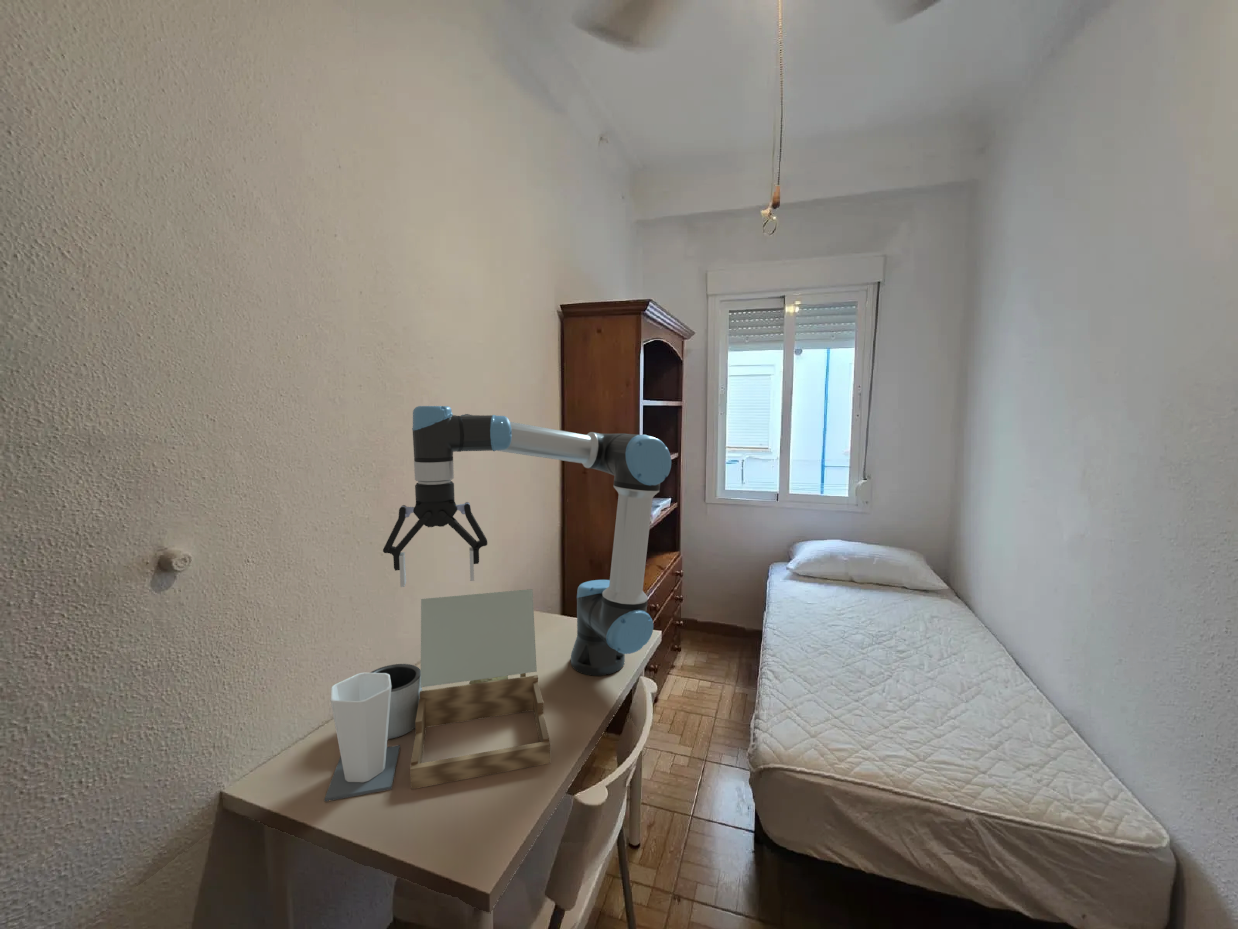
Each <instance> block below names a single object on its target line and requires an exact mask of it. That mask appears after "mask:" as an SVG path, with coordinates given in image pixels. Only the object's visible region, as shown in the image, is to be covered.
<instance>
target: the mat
mask: <svg viewBox="0 0 1238 929" xmlns="http://www.w3.org/2000/svg"><path fill="white" fill-rule="evenodd" d="M400 750H401V746H400V745H399V744H398V745H394V746H387V749H386V762H385V769H384V770H383V772H381V773H380V774H378V775H377V776H375V777H374V778H372V779H370V780H369V781H366V782H348V781H346V780H345V775H344V770H343V765H342V760H341V755H340V757H339V759H338V763H337V764H336V767H335V770H334V772H333V776H332V777H331V780H330V783H329V786H328V789H327V791H326V794H325V797H324V802H325V801H326V802H330V801H329V800H331V801H335V800H340V799H346V798H352V797H357V796H362V795H363V796H364V795H368V794H373V793H378V792H383V791H390V790H392V787H393V782H394V778H395V775H396V774H395V773H396V769H397V768H396V767H397V763H398V759H399V754H400Z"/></svg>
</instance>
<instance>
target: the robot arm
mask: <svg viewBox="0 0 1238 929" xmlns="http://www.w3.org/2000/svg"><path fill="white" fill-rule="evenodd" d="M411 430H412V444H413V468H414V470H413V471H414V480H415V482H416V484H415V485H414V489H415V490H414V492H415V494H414V495H415V505H414V506H407V505H406V504H403V505H401V506H400V507H399V508H398V518H397V520H396V523H395V525H394V527H393V528H392V530H391V533H390V535H389V536H388V538H387V540H386V543H385V544H384V546H383V549H382V552H383V553H384V554H390V555H392V558H393V569H394V571H399V581H400V582H399V583H400V586H399V587H400V588H405V586H406V584H407V575H406V552H405V551H403V550H404V548H406V547H407V545H408V544H409V543H410V542H411V540H412V539H413V538H414V537H415V536H416V535H417V534H418V533H419V531H420V530H421V529H422V528H423V526H425V527H427V528H433V527H441V528H442V527H445V526H447V525H448V526H450V527H451V528H452V529H453V530H454V531H455V532H456V533H457V534H458V535H459V536H460V537H461V538H462V539H463V540H464V541H465V542H466V543H467V544H468V545H469V547H468V548H469V551H468V552H469V575H470V576H469V578H470V580H469V581H470V582H474V581H475V568H474V565H479V563H480V549H481V548H483V547H486V546H488V538H486V535H485V533H484V532H483V530H482V528H481V527H480V524H479V523H478V521H477V520H476V517H475V516H474V515H473V512H472V509H471V503H470V502H468V501H465V502H464V503H460V504H456V501H455V500H456V499H455V483H454V482H453V481H452V480H453V479H454V478H455V474H454V472H455V471H454V452H459V453H460V452H484V451H485V452H488V451H489V452H490V451H491V452H503V453H510V454H515V455H523V456H529V457H530V456H531V457H535V458H536V457H537V458H543V459H551V460H558V461H564V462H570V463H577V464H582V466H583V467H584V468H585V469H592V470H596V471H601V472H604V473H607V474H610V475H612V476H614V478H613V489H615V490H616V492H617V494H618V496H617V498H618V499H617V507H616V517H615V518H616V519H615V527H614V534H613V545H612V554H611V565H610V574H609V575H610V576H609V579H595V580H594V579H593V580H588V581H585V582H582V583H580V584H579V586H578V587H577V593H576V628H577V629H576V633H577V634H576V638H575V642H574V644H573V647H572V650H571V653H570V665H571V667H572V668H573V669H574V670H575V671H576V672H579V673H580V674H583V675H587V676H588V675H589V676H594V677H595V676H597V675H599V676H605V675H606V674H608V675H611V674H614V673H616V671H617V672H618V671H620V670H621V669H622V668H623V667H624V666H625V663H624V662H625V660H626V658H625V657H626V655H630V654H635V653H636V652H639V651H640V650H641V649H643V647H644V646H645V645H647V643H648V642H650V639H651V637H652V635H653V632H654V622H653V619H652V616H651V615H650V614H649V613H648V612H647V611H648V610H647V607H648V598H649V597H648V595H647V594H646V593H645V592H644V583H645V582H644V581H645V572H646V570H645V569H646V563H647V562H646V560H647V555H648V554H647V552H648V545H649V544H648V543H649V535H650V528H651V527H650V526H651V516H652V507H653V498H654V497H655V495H657V494H658V493H660V489H661V483H663V482H664V481H665V480H666V478H668V476H669V474H670V472H671V468H672V457H671V453H670V451H669V448H668V447H667V445H666V444H665V443H664V442H663V441H662V440H661V439H659V438H656V437H654V436H651V435H647V434H633V433H632V434H631V433H599V432H594V431H590V432H588V433H587V434H585V433H584V434H582V433H578V432H577V433H576V432H571V431H567V430H561V429H554V428H548V427H543V426H536V425H531V424H525V423H520V422H519V423H518V422H515V421H510V420H509V417H507V416H505V415H497V414H496V415H495V414H492V415H491V414H490V415H488V414H487V415H484V414H483V415H477V414H475V415H474V414H469V413H465V414H461V415H457V414H453V412H452V407H450V406H449V405H442V406H441V405H418V406H416V407H415V408H413V410H412V428H411ZM458 511H459V512H460V513H461V515H465V517H466V520H467V521H468V524H469V525H470V527H471V528H472V530H473V532H474V533H475V535H476V538H477V539H478V540H476V539H475V538H474V537H473V536H472V535H471V534H470V532H469V531H467V530H466V528H464V527H463V525H462V524H461V523H459V522H458V520H457V519H456V517H454V516H455V514H456V513H457V512H458ZM412 513H413V514H414V515H415V516H416V518H417V519H418V520H417V521H416V522H415V524H414V525H413V526H412V527H411V529H410V530H409V531H408V532H407V533H406V534H405V535H404V537H403V538H402V539H401V541H399V543H398V544H397V545H396V546H393V545H394V542H395V541H396V538H397V537H398V535H399V533H400V531H401V529H402V527H403V524H404V522H405V520H406V519H407V518H409V517H410V516H411V514H412ZM623 665H624V666H623ZM621 667H622V668H621ZM606 676H607V675H606Z"/></svg>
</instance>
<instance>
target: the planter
mask: <svg viewBox="0 0 1238 929" xmlns="http://www.w3.org/2000/svg"><path fill="white" fill-rule="evenodd" d="M369 673H387V674H389V675H390V680H391V686H392V687H391V699H390V712H389V724H388V737H387V740H392V739H395V738H399V737H402V736H404V735H406V734H408V733H409V732H411V731H413V730H414V729H416V727H415V721H416V715H417V710H418V704H419V699H420V698H419V693H420V691H423V687H421V668H420V667H418V666H417V665H414V664H411V663H410V664H409V663H396V664H395V663H394V664H389V665H385V666H382V667H378V668H376V669H374V670H372V671H370V672H369Z"/></svg>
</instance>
